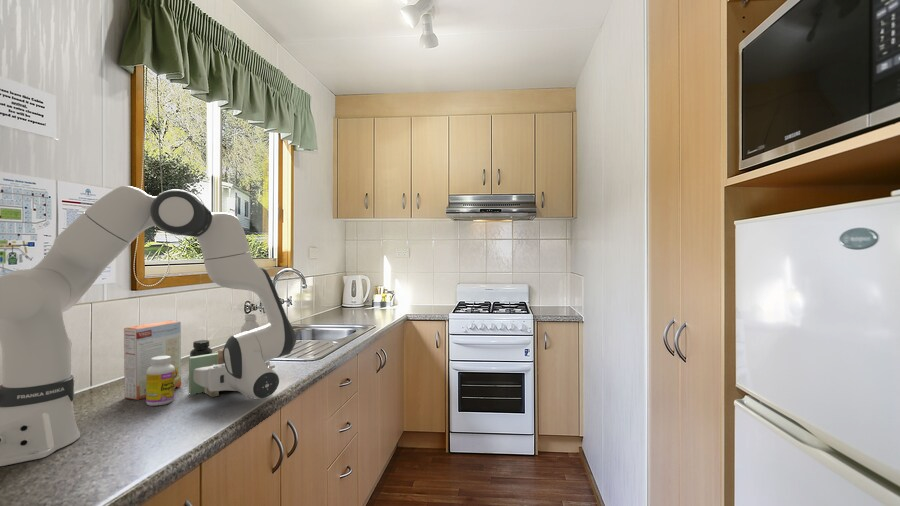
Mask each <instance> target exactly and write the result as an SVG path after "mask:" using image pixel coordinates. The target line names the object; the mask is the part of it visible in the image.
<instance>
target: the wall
mask: <svg viewBox="0 0 900 506" xmlns="http://www.w3.org/2000/svg"><path fill="white" fill-rule="evenodd" d="M214 364H218V352H215V353H213V352H212V354H207V355H200V356H194V357H190V356H189V357H188V394H189V393H190V394H193V395H197V394H196V393H198V394H203V393H205V392H204V387H202V386H200V385H198V384H196V383H195V382H194V378H193V373H194V370H195V369H196V368H201V367H207V366H212V365H214ZM202 392H203V393H202ZM190 394H189V395H190Z"/></svg>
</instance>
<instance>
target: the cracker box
mask: <svg viewBox="0 0 900 506" xmlns="http://www.w3.org/2000/svg"><path fill="white" fill-rule="evenodd" d="M181 324H182V323H181V321H178V320H177V321H176V320H175V321H174V320H165V321H160V322H152V323H145V324H140V325H134V326H129V327H124V328H123V359H124V360H123V361H124V362H123V363H124V364H123V365H124V366H123V367H124V369H123V371H124V372H123V374H124V386H123V387H124V399H130V400H137V401H138V400H141V399H142V400H143V399H145V398H146V384H147V370H148V368H150V367H151V366H152V364H151V358H153V357H157V356H171V361H170V364H171V365H173V366H174V368H175V377H174V389H176V387H177V388H179V387H181V386H182V355H181V354H182V347H181V346H182V345H181V344H182V343H181V340H182V339H181V338H182V337H181V336H182V333H181V330H182V329H181V327H182V325H181Z"/></svg>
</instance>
